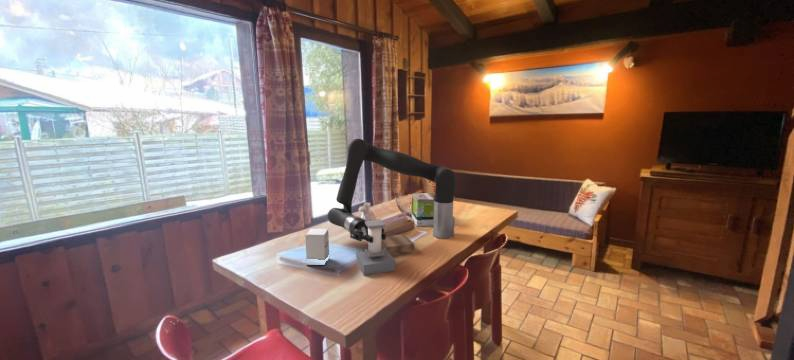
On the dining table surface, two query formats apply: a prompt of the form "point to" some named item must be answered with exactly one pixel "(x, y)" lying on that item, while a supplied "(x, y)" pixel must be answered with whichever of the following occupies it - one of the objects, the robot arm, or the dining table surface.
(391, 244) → the stand
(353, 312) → the dining table surface
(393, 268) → the stand
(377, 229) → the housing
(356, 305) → the dining table surface
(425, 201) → the tea box
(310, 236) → the supplement box
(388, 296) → the dining table surface
